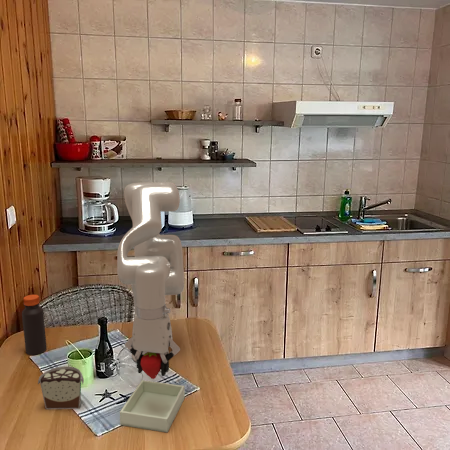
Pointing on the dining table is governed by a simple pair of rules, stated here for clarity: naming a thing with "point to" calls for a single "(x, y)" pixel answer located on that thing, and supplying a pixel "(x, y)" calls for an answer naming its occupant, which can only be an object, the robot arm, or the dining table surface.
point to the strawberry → (151, 364)
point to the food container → (61, 388)
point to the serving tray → (153, 406)
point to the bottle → (33, 326)
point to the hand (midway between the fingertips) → (152, 371)
